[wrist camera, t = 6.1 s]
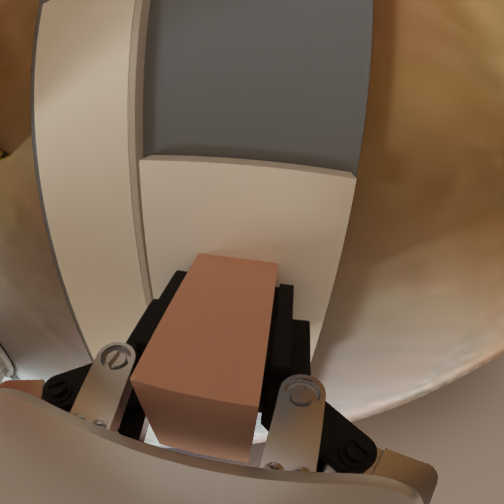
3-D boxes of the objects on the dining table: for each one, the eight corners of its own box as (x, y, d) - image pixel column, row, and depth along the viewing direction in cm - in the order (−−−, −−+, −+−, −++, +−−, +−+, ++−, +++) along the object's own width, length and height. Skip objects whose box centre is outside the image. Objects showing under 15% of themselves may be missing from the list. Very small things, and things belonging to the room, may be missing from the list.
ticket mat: (294, 394, 19) (292, 419, 17) (103, 355, 20) (92, 374, 18) (363, -48, 6) (374, -69, 4) (61, -15, 7) (36, -21, 6)
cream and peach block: (302, 372, 15) (296, 489, 9) (172, 352, 16) (128, 456, 10) (351, 172, 10) (428, 287, 4) (151, 154, 10) (12, 233, 4)
